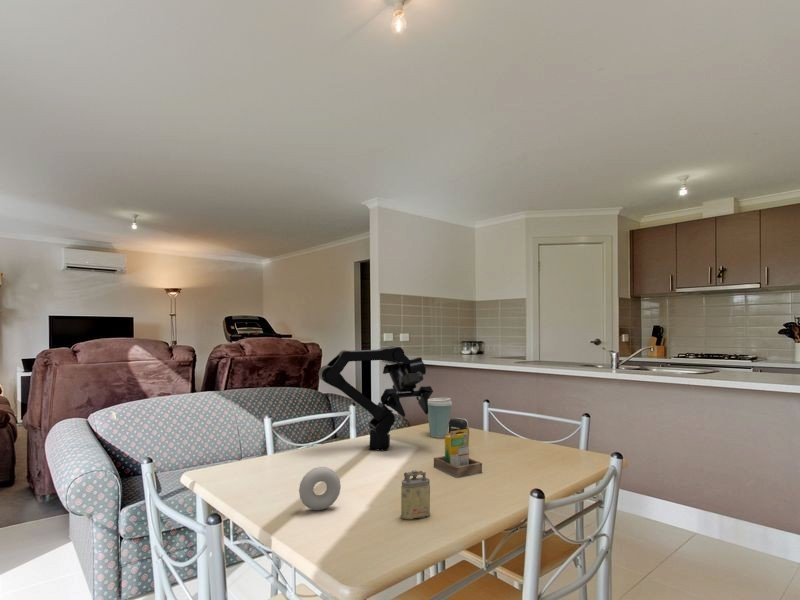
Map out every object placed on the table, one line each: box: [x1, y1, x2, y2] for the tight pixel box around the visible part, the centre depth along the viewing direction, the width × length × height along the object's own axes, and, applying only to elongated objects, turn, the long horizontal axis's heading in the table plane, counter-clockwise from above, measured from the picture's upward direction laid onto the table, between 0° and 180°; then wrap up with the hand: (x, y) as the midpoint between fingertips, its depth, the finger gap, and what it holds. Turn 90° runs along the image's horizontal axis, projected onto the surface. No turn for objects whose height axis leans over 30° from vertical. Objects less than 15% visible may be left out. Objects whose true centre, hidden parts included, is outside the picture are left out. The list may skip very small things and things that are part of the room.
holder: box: [433, 455, 483, 479], centre depth 141 cm, size 10×12×3 cm
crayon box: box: [444, 428, 470, 467], centre depth 142 cm, size 7×3×12 cm, turn 122°
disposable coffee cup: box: [427, 397, 453, 439], centre depth 184 cm, size 11×11×15 cm
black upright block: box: [448, 417, 470, 437], centre depth 161 cm, size 7×4×11 cm, turn 47°
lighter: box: [400, 469, 431, 520], centre depth 107 cm, size 7×4×10 cm, turn 112°
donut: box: [298, 466, 342, 511], centre depth 110 cm, size 10×4×10 cm, turn 113°
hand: (416, 415), depth 157 cm, fingers open, 9 cm apart
